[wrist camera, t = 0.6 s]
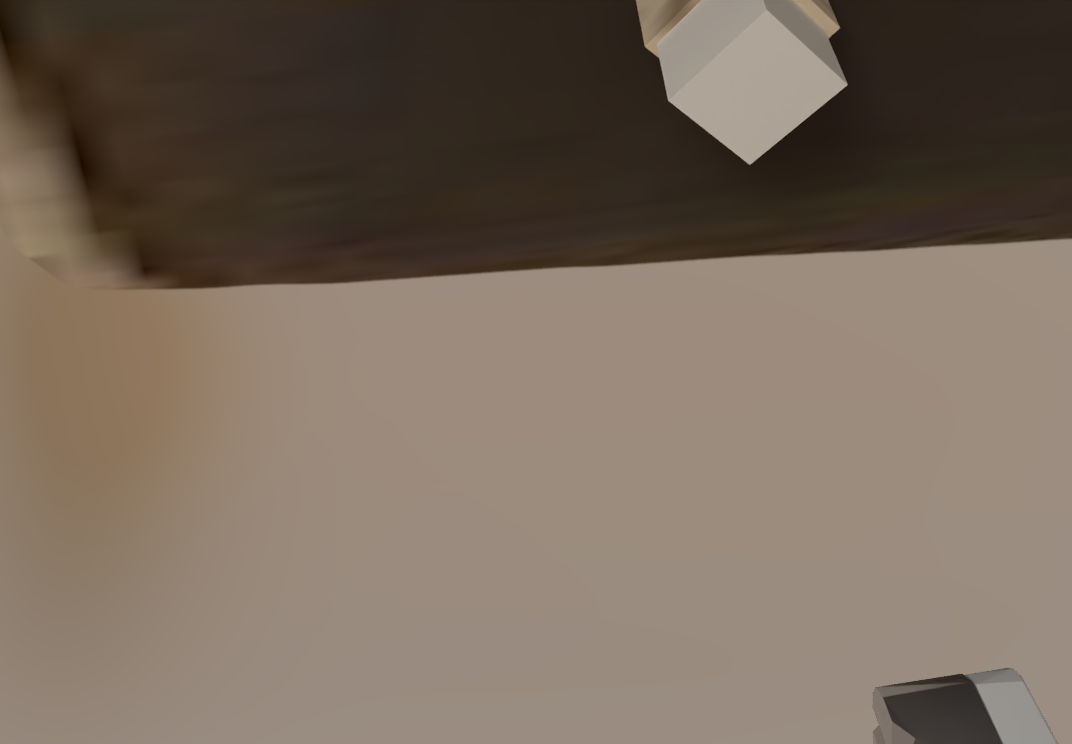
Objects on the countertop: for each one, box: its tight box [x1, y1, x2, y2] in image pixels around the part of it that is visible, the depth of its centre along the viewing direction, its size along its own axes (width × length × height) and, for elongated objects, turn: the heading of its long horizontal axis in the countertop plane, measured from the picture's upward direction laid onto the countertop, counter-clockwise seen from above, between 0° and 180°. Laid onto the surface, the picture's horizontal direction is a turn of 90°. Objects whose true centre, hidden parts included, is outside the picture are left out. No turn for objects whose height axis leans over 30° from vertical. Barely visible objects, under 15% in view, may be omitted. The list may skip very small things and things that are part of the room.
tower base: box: [636, 0, 840, 58], centre depth 50 cm, size 7×7×5 cm
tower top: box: [657, 0, 848, 165], centre depth 47 cm, size 6×6×5 cm
